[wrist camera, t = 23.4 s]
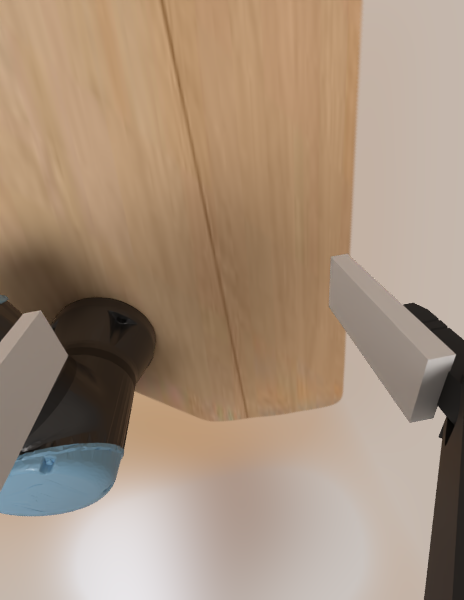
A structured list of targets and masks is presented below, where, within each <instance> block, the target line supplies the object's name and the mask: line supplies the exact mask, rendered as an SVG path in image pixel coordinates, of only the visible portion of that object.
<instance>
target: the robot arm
mask: <svg viewBox="0 0 464 600" xmlns="http://www.w3.org/2000/svg"><path fill="white" fill-rule="evenodd" d="M7 300H8V298H7V297H6V296H5V295H0V513H4V514H9V515H17V516H47V515H56V514H62V513H67V512H71V511H75V510H78V509H81V508H84V507H87V506H89V505H91V504H93V503H95V502H97V501H98V500H100V499H101V498H102V497H104V496H105V495H106V494H107V493H108V491H109V490H110V489H111V487H112V486H113V484H114V482H115V480H116V476H117V472H118V468H119V464H120V460H121V459H122V457H123V455H124V446H125V440H126V435H127V430H128V424H129V418H130V413H131V407H132V402H133V396H134V390H135V386H136V383H137V382H138V380H139V379H140V377H141V376H142V374H143V373H144V371H145V370H146V368H147V367H148V366H149V364H150V362H151V360H152V358H153V355H154V349H155V333H154V330H153V328H152V326H151V324H150V322H149V321H148V320H147V319H146V317H145V316H144V315H143V314H142V313H140V312H139V311H138V310H136V309H135V308H133V307H131V306H130V305H128V304H125V303H123V302H120V301H117V300H113V299H107V298H88V299H83V300H79V301H76V302H74V303H71V304H70V305H68V306H66V307H65V308H64V309H62V310H61V311H60V312H59V314H58V315H57V316H56V318H55V319H54V321H53V322H52V324H51V326H50V325H49V323H48V321H47V320H46V318H45V316H44V315H43V313H42V311H41V310H39V311H34V312H29V313H24V314H22V313H21V312H19V311H18V310H17V309H16V308H15V307H14V306H13V305H12V304H10V303H9V302H8V301H7ZM329 308H330V309H331V310H332V312H333V313H334V315H335V316H336V318H337V319H338V320H339V322H340V323H341V325H342V326H343V328H344V329H345V330H346V332H347V333H348V335H349V336H350V338H351V339H352V340H353V342H354V343H355V345H356V346H357V348H358V349H359V351H360V352H361V353H362V355H363V356H364V358H365V359H366V361H367V362H368V364H369V365H370V366H371V368H372V369H373V371H374V372H375V373H376V375H377V376H378V378H379V379H380V381H381V382H382V384H383V385H384V386H385V388H386V389H387V391H388V392H389V394H390V395H391V397H392V398H393V399H394V401H395V402H396V404H397V405H398V407H399V408H400V409H401V411H402V412H403V414H404V415H405V417H406V418H407V419H408V421H409V422H410V423H411V422H416V421H421V420H426V419H431V418H434V415H435V412H436V409H437V407H438V406H439V407H440V409H441V410H442V411H443V412H444V414H445V415H446V416H447V417H446V419H445V422H444V425H443V427H442V429H441V432H440V434H439V438H442V447H441V455H440V464H439V473H438V482H437V490H436V499H435V508H434V516H433V517H434V518H433V525H432V535H431V543H430V552H429V560H428V570H427V578H426V587H425V596H424V600H464V340H463V339H462V338H461V337H459V336H458V335H457V334H456V333H455V332H453V331H452V330H451V329H450V328H447V326H446V325H445V324H444V323H443V322H442V321H441V320H440V321H439V320H438V318H437V317H436V316H435V315H433V314H432V313H431V312H430V311H429V310H428V309H425V308H423V307H421V306H419V305H417V304H415V303H409V304H404V305H402V304H401V303H400V302H399V301H398V300H397V299H396V298H395V297H394V296H393V295H391V294H390V293H389V292H388V291H387V290H386V289H385V288H384V287H383V286H382V285H381V284H380V283H378V282H377V281H376V280H375V279H374V278H373V277H372V276H371V275H370V274H369V273H368V272H367V271H366V270H364V269H363V268H362V267H361V266H360V265H359V264H358V263H357V262H356V261H355V260H353V258H351V257H350V256H349V255H348V254H343V255H338V256H332V257H331V266H330V292H329Z"/></svg>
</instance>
